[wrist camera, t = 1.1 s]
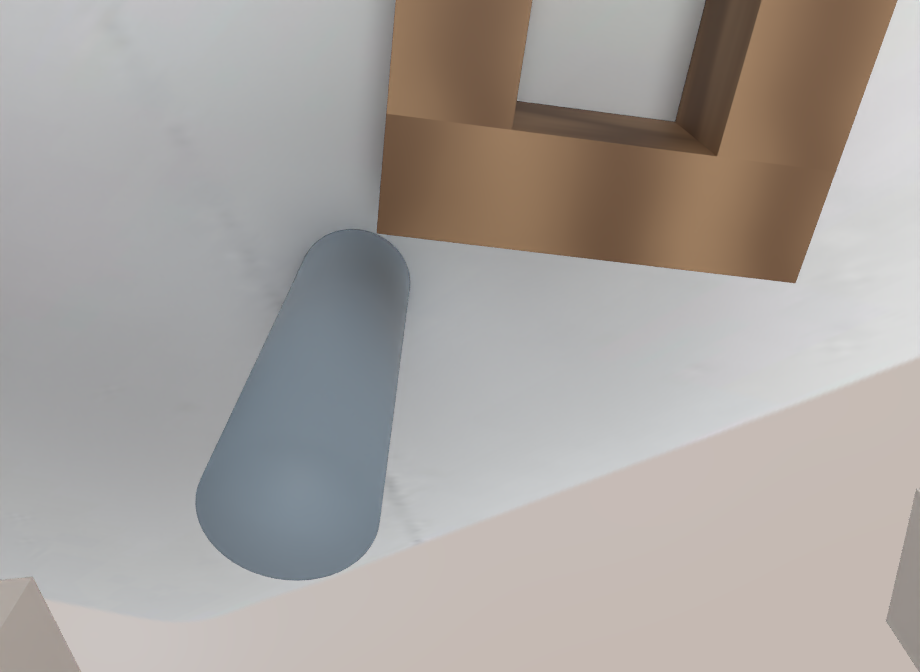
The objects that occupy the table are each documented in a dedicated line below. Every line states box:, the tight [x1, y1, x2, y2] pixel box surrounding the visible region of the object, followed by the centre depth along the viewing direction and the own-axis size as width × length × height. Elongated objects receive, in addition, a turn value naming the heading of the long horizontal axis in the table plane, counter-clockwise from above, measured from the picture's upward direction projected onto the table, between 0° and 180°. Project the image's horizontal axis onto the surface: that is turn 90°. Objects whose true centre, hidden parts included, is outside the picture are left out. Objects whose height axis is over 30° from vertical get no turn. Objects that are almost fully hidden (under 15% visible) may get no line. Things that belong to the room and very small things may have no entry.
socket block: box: [377, 0, 897, 283], centre depth 24 cm, size 14×14×5 cm
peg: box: [196, 229, 410, 580], centre depth 25 cm, size 4×4×14 cm
